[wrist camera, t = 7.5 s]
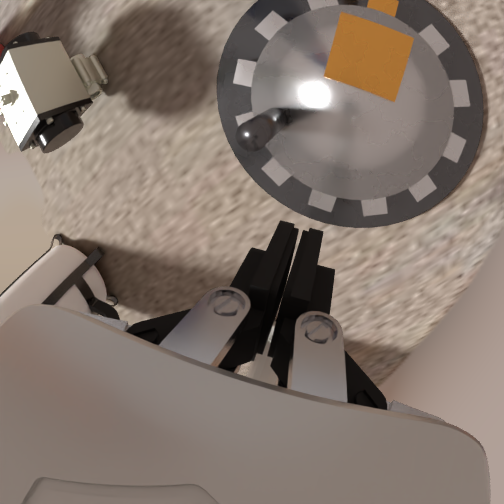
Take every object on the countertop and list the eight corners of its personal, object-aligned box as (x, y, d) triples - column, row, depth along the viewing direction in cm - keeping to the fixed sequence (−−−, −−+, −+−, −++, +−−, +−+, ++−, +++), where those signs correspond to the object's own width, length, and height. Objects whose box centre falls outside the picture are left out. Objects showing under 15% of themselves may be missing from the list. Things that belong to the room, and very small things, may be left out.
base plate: (432, 250, 25) (435, 258, 24) (212, 191, 29) (206, 197, 28) (498, 29, 12) (505, 28, 11) (235, -36, 16) (228, -41, 15)
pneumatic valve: (87, 25, 21) (-8, 37, 12) (132, 104, 26) (36, 140, 16) (60, 57, 24) (-26, 79, 15) (101, 132, 28) (15, 174, 19)
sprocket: (275, 219, 27) (250, 270, 21) (211, 28, 19) (159, 19, 13) (470, 196, 20) (503, 244, 14) (431, -15, 12) (463, -44, 6)
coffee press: (102, 317, 50) (10, 444, 26) (46, 249, 44) (-65, 366, 21) (153, 292, 40) (28, 475, 17) (80, 202, 35) (-87, 359, 12)
